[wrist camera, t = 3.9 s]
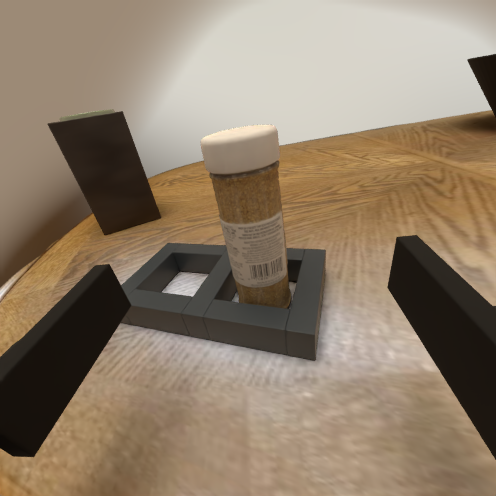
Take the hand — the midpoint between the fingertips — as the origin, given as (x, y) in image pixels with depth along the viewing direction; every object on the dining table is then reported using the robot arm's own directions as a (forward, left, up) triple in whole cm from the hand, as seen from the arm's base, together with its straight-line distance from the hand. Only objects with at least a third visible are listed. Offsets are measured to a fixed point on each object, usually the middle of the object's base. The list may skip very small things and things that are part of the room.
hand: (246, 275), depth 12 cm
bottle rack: (0, +8, -8) cm, 11 cm away
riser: (-6, +38, -8) cm, 39 cm away
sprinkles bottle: (+3, +6, -8) cm, 10 cm away
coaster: (-6, +38, +8) cm, 39 cm away
